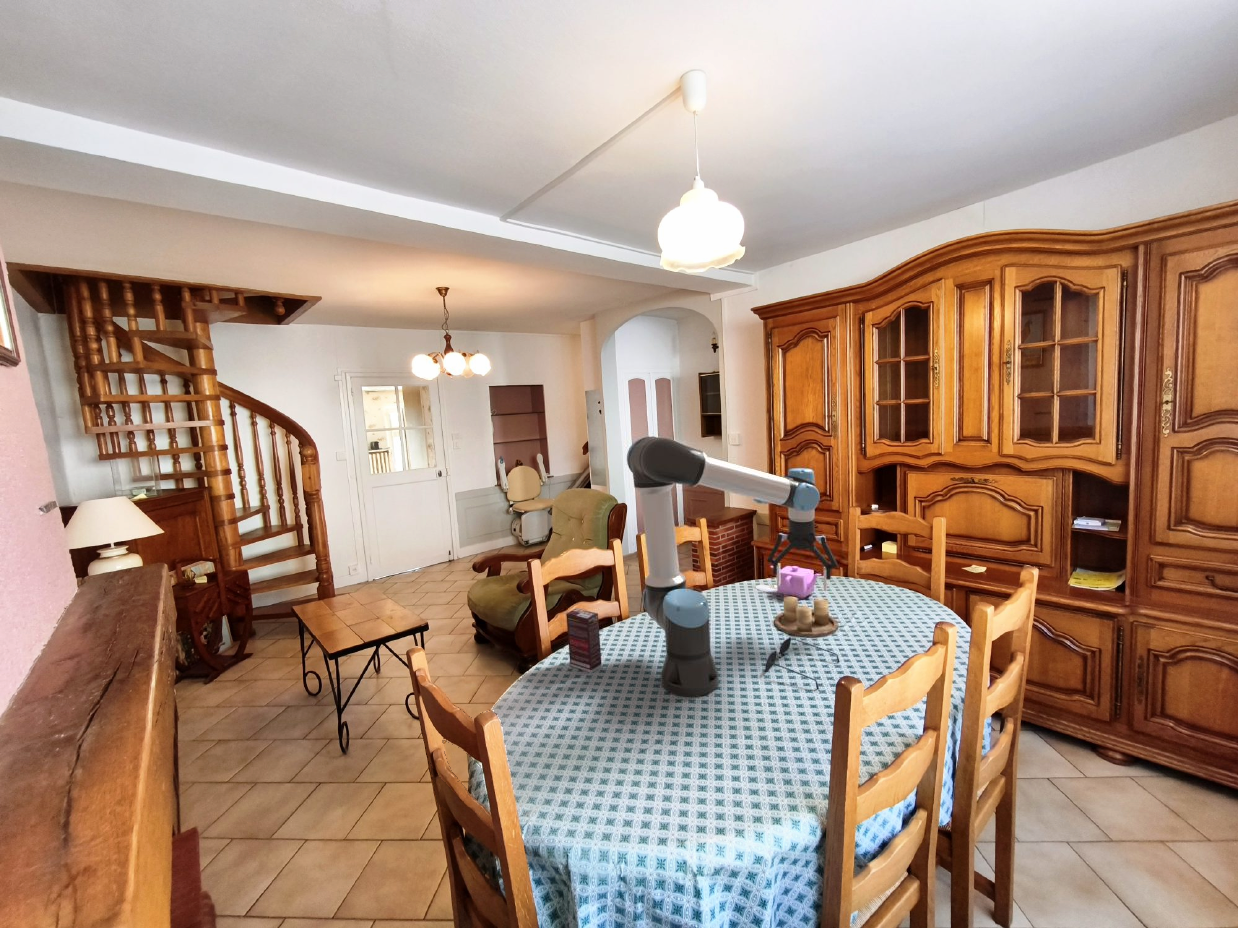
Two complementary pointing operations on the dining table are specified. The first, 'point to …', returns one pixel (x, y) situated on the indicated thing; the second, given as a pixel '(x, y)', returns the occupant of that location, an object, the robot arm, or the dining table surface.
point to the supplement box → (584, 640)
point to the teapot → (796, 581)
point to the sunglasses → (783, 648)
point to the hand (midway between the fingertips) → (801, 587)
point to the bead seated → (821, 612)
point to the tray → (816, 632)
